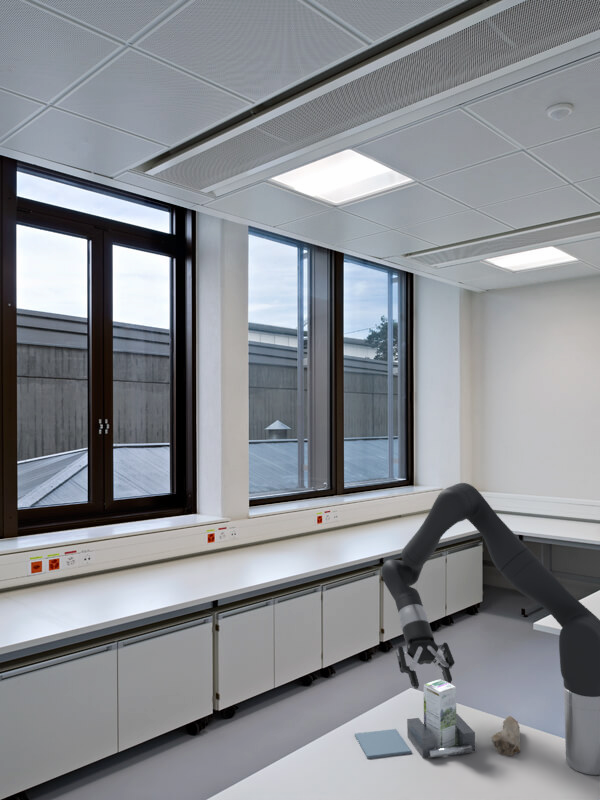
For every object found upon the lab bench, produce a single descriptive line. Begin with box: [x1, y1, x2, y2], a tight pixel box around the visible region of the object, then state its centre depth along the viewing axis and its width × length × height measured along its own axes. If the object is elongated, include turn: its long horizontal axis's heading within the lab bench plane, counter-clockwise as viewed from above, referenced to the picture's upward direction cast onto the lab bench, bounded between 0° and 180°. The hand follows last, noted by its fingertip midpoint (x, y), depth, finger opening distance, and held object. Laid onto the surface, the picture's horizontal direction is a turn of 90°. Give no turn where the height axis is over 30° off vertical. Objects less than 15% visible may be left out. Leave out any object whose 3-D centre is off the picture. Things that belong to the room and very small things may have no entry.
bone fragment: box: [490, 715, 521, 757], centre depth 156 cm, size 14×6×5 cm, turn 150°
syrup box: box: [423, 678, 457, 749], centre depth 156 cm, size 6×6×14 cm
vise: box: [406, 713, 476, 759], centre depth 155 cm, size 13×12×4 cm
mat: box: [354, 728, 412, 760], centre depth 156 cm, size 11×11×1 cm
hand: (433, 685), depth 160 cm, fingers open, 8 cm apart
